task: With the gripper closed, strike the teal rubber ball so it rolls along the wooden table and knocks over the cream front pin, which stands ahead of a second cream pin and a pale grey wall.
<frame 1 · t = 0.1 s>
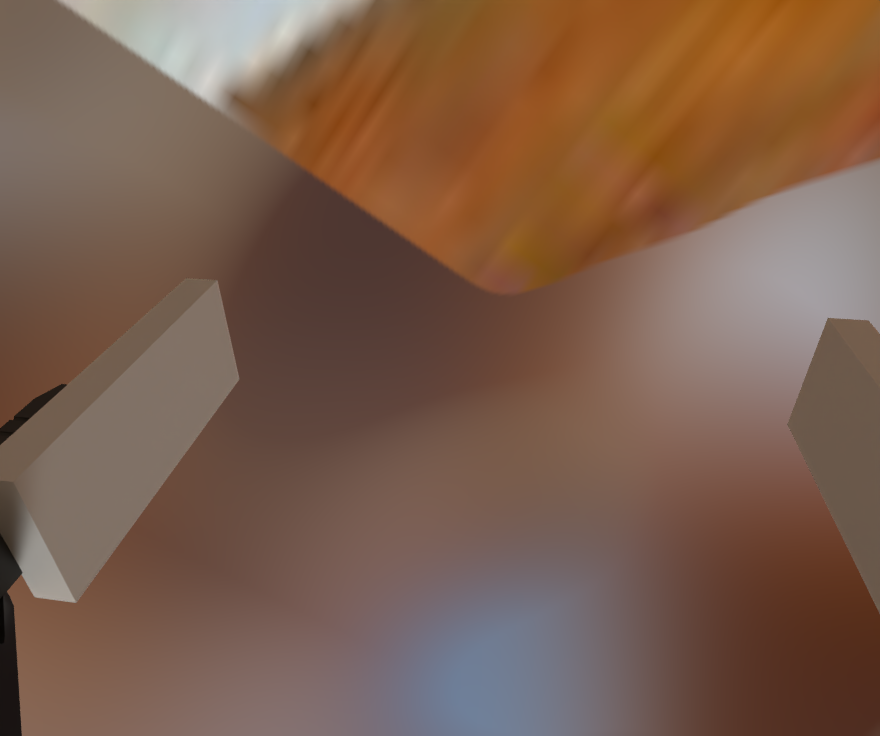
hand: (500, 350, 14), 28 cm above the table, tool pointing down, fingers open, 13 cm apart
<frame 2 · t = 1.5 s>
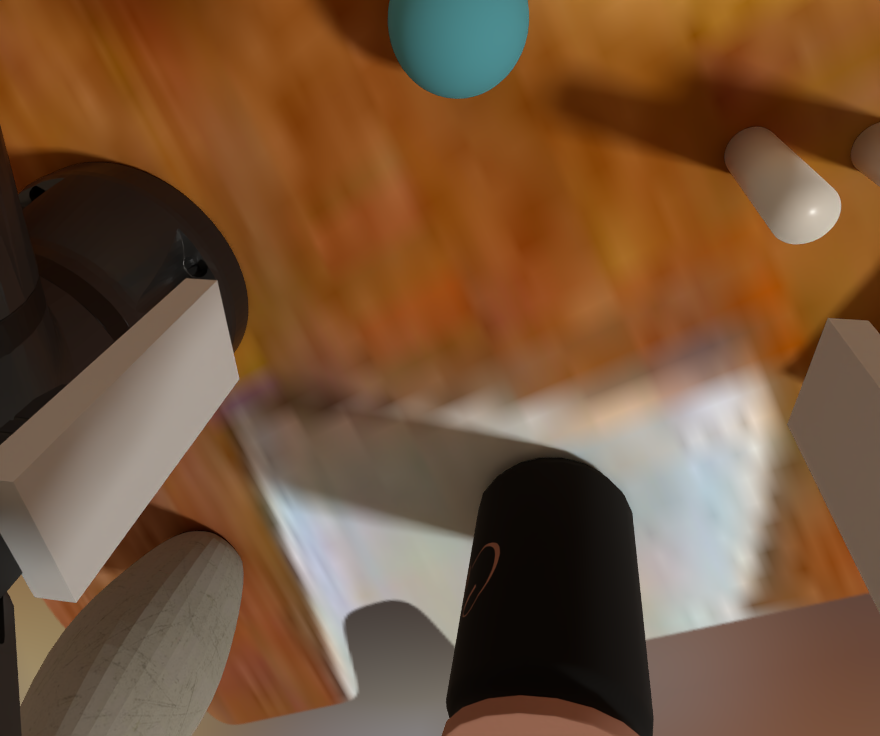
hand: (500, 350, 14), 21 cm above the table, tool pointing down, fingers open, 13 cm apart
ball: (458, 22, 27), on the table
bowling pin: (209, 550, 56), on the table
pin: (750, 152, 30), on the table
coffee jar: (554, 504, 46), on the table
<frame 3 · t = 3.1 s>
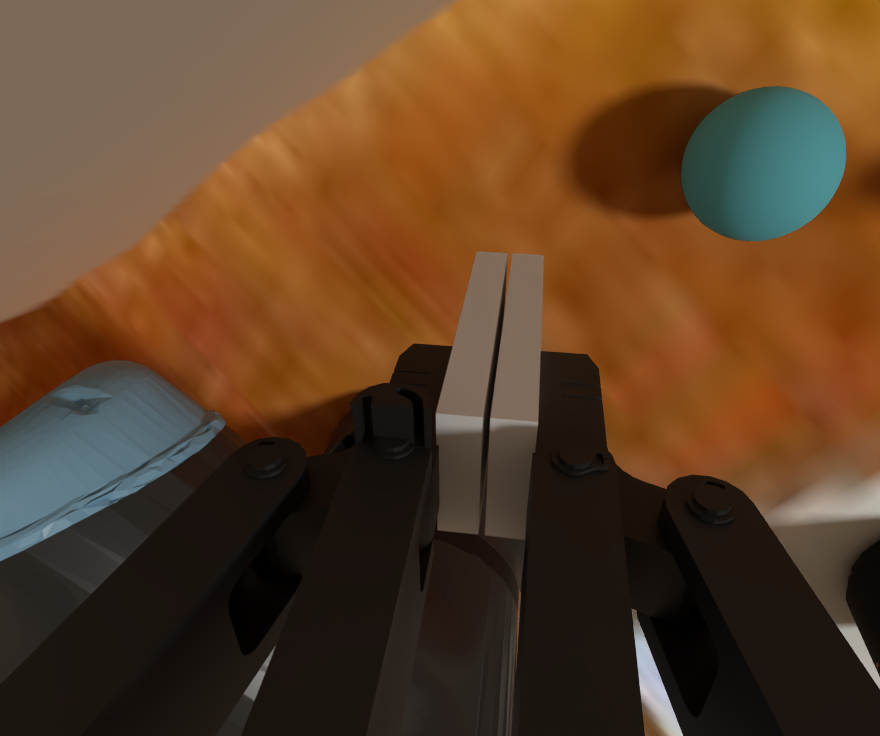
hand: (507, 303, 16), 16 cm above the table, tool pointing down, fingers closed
ball: (759, 166, 26), on the table
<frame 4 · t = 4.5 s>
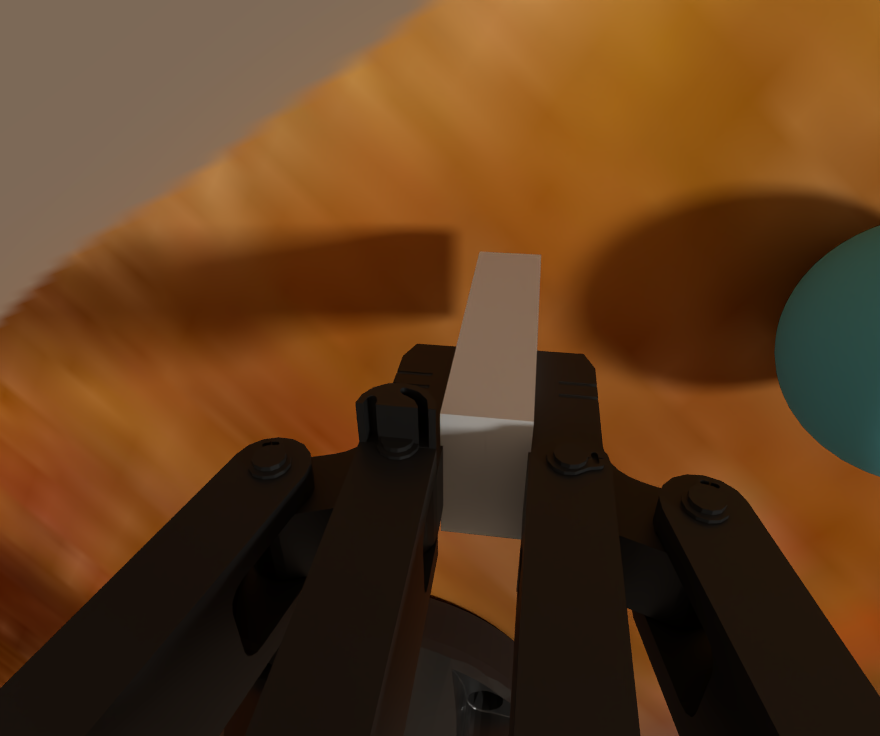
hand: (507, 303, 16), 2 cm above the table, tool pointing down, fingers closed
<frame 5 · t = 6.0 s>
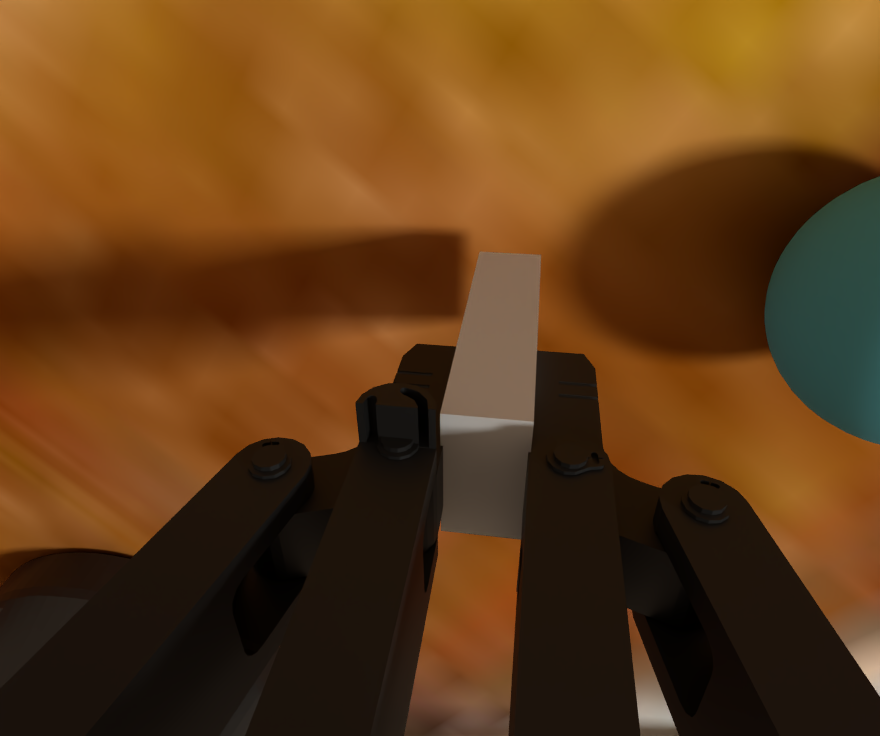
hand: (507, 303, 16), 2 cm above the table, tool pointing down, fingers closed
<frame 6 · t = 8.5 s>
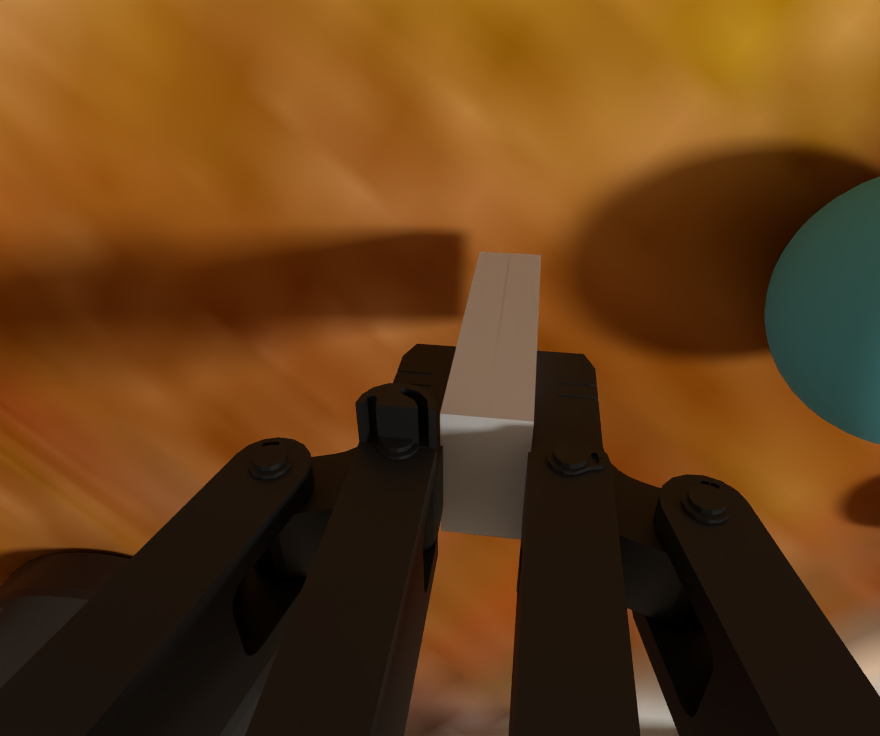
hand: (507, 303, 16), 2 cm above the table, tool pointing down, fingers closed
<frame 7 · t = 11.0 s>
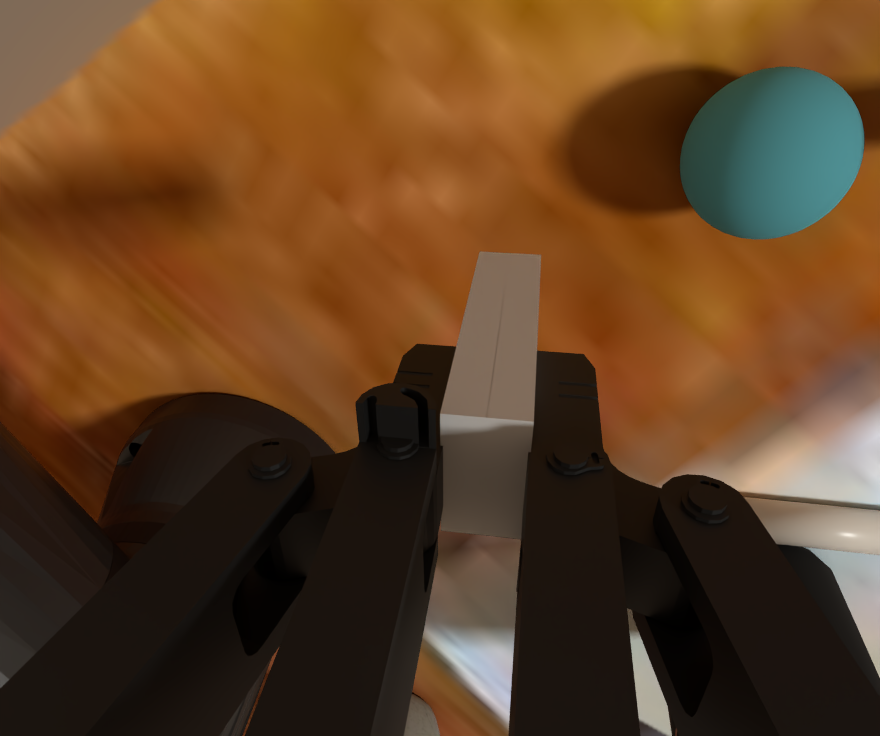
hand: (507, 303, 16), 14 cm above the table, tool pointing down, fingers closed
ball: (766, 156, 23), on the table
bowling pin: (396, 703, 55), on the table
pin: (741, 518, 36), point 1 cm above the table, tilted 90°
coffee jar: (736, 578, 40), on the table
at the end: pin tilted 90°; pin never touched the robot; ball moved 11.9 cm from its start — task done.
